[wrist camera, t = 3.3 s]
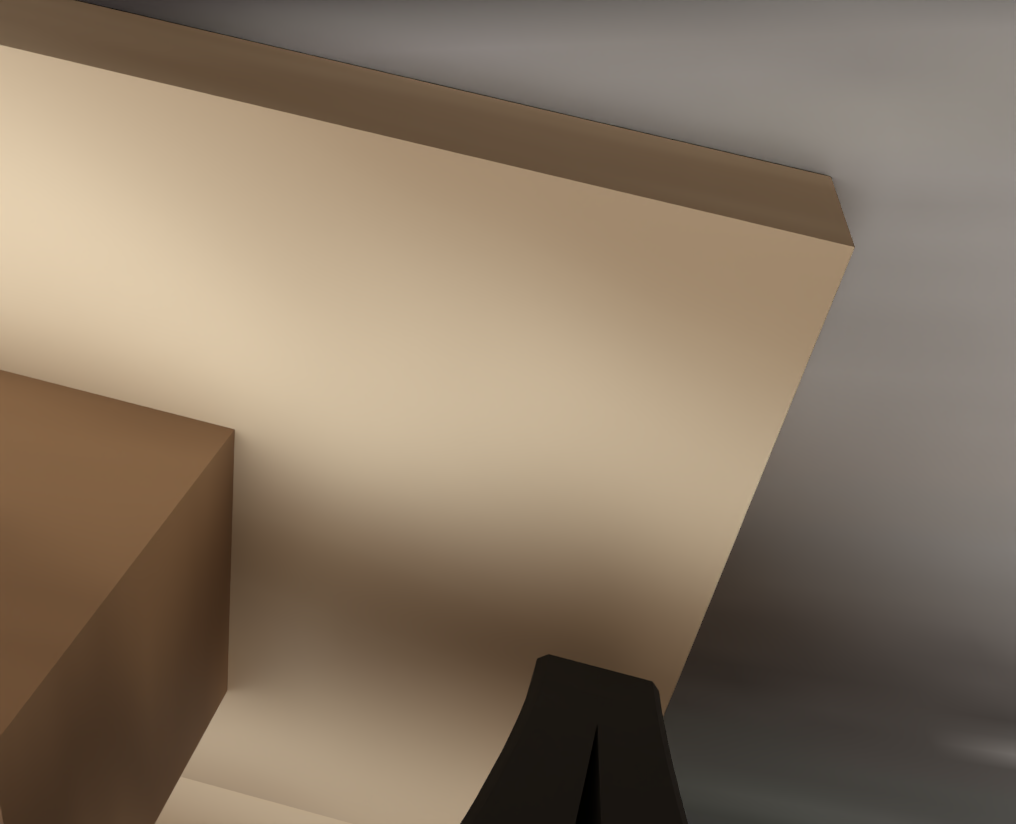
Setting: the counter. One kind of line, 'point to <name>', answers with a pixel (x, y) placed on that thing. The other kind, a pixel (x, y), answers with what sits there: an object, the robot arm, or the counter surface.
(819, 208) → the board
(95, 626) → the block
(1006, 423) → the counter surface
